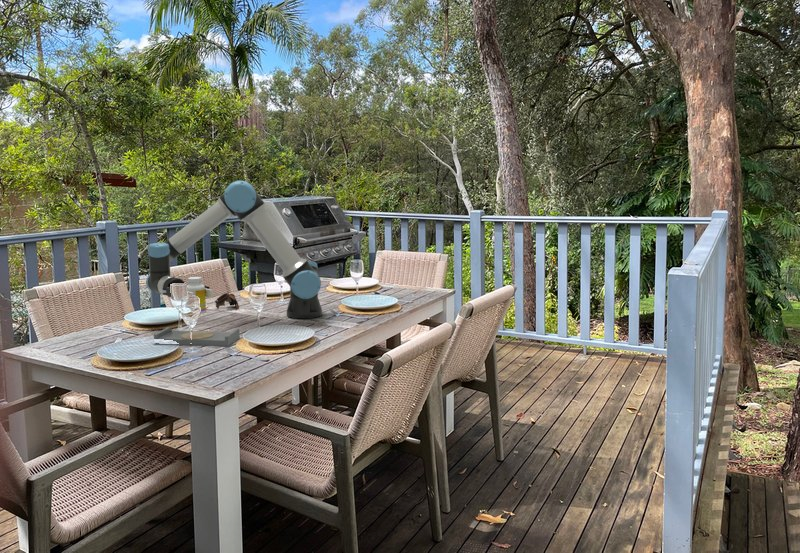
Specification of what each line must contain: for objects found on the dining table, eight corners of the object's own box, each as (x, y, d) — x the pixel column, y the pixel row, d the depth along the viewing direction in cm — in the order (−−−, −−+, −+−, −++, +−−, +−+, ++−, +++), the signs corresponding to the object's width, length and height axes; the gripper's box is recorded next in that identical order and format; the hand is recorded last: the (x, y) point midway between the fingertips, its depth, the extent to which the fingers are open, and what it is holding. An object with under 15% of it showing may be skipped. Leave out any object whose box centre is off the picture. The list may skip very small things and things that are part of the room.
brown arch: (237, 312, 284) (227, 297, 282) (220, 320, 286) (209, 305, 284) (244, 300, 295) (234, 285, 293) (227, 308, 297) (217, 294, 295)
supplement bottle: (208, 311, 234) (207, 276, 232) (202, 315, 228) (201, 279, 226) (190, 311, 235) (189, 276, 233) (183, 314, 228) (182, 279, 226)
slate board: (239, 337, 238) (239, 328, 237) (228, 346, 226) (228, 336, 225) (168, 335, 240) (168, 326, 239) (154, 344, 228) (153, 334, 227)
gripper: (196, 293, 250) (227, 302, 234) (147, 300, 236) (176, 309, 220) (195, 274, 249) (227, 281, 233) (146, 279, 235) (175, 288, 219)
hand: (202, 295), depth 227 cm, fingers closed on supplement bottle, 7 cm apart
